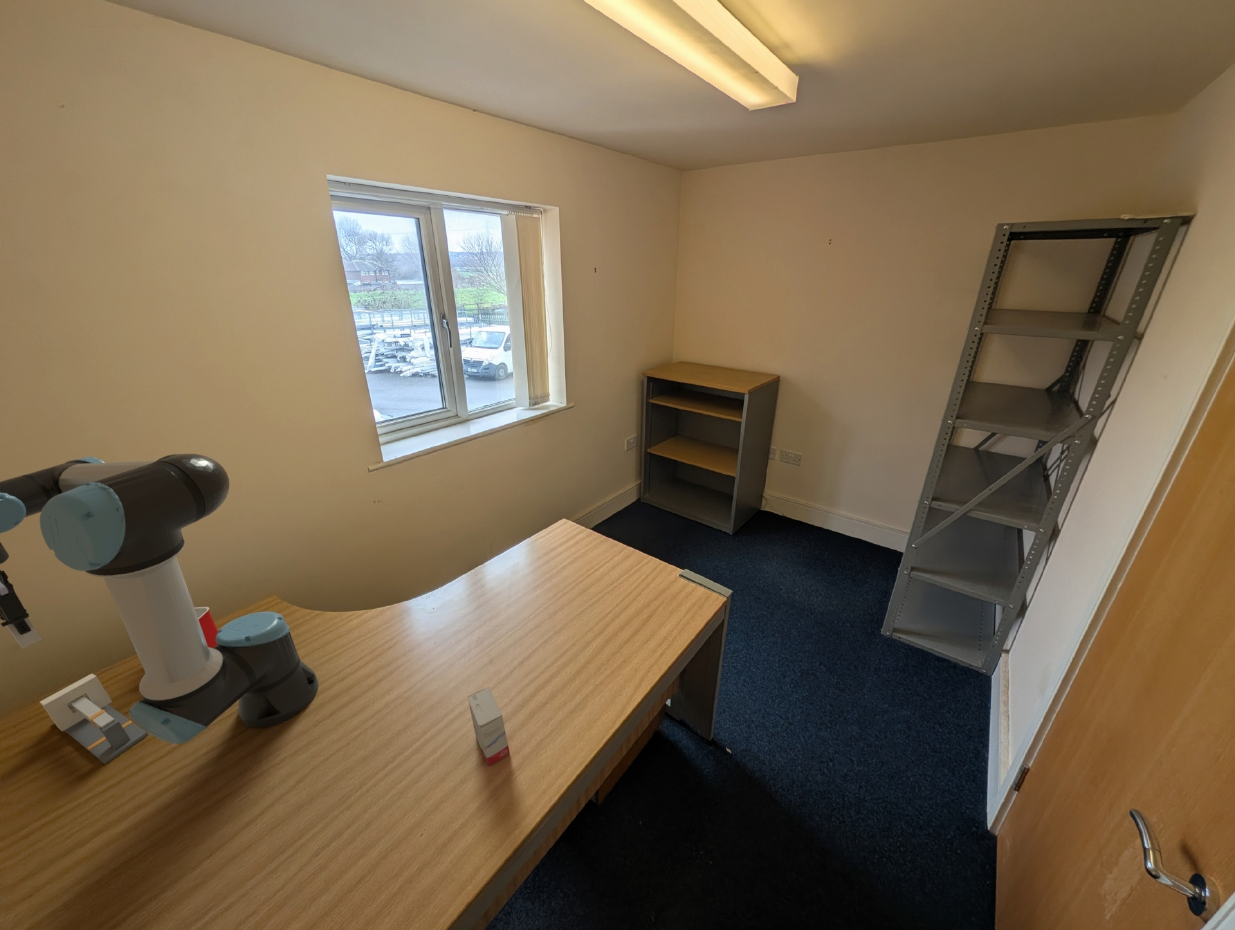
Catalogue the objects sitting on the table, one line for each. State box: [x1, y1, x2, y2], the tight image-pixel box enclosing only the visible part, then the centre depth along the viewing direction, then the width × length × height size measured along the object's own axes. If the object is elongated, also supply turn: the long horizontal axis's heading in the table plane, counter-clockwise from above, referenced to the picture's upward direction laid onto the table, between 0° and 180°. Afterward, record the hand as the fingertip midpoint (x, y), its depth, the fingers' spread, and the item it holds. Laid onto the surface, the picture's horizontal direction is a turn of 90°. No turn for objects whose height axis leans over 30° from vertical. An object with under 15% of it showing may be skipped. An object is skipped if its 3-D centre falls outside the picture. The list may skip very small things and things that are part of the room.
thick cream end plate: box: [39, 673, 113, 732], centre depth 99 cm, size 2×8×8 cm, turn 156°
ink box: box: [467, 686, 510, 767], centre depth 94 cm, size 9×5×12 cm, turn 33°
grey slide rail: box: [63, 695, 149, 765], centre depth 99 cm, size 23×7×7 cm, turn 66°
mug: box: [194, 606, 219, 648], centre depth 119 cm, size 12×8×11 cm
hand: (31, 642), depth 96 cm, fingers closed
